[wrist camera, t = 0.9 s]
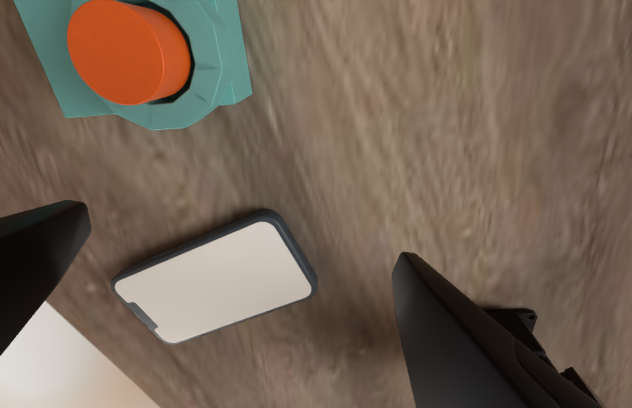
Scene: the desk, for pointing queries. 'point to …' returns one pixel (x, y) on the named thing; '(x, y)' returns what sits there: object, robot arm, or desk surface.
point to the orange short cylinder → (127, 51)
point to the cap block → (165, 113)
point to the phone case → (218, 279)
